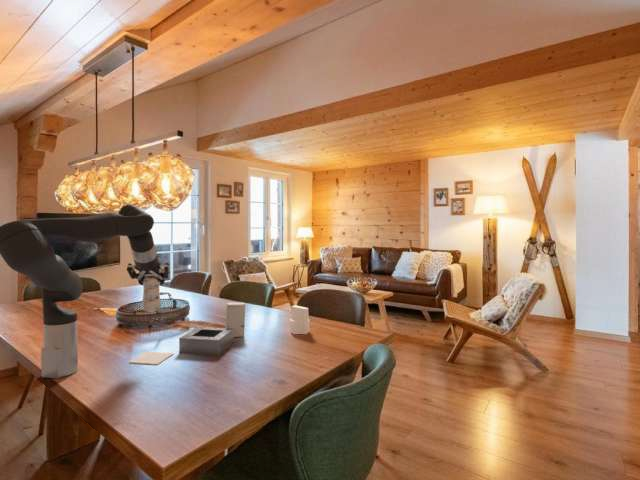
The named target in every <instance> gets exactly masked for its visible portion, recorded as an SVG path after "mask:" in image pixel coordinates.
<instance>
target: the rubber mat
mask: <svg viewBox="0 0 640 480" xmlns="http://www.w3.org/2000/svg"><path fill="white" fill-rule="evenodd" d="M174 355H175V353H174V352H161V351H160V352H159V351H158V352H157V351H155V352H154V351H146V352H144V353H142V354H141V355H139V356H137V357H136V358H134V359H132V360H130V361H128V364H135V365H137V364H138V365H154V366H155V365H156V366H158V365H160V364H161V363H163V362H165V361H166V360H167V359H168V358H171V357H172V356H174Z"/></svg>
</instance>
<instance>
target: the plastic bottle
mask: <svg viewBox="0 0 640 480" xmlns="http://www.w3.org/2000/svg"><path fill="white" fill-rule="evenodd" d="M142 279H143V285H142V287H143V290H142V291H143V293H142V302H141V309H142V311H143V312H146V313H147V312H149V313H154V312H157V311H160V310H161V307H162V301H161V293H160V280H159V278H158V277H156V276H154V275H153V274H147V275H145V274H144V275H143V277H142Z"/></svg>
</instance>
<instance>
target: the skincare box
mask: <svg viewBox="0 0 640 480" xmlns="http://www.w3.org/2000/svg"><path fill="white" fill-rule="evenodd" d="M225 305H226V310H225V314H226V315H225V328H230V329H234V338H237V337H238V338H239V337H240V338H241V337H245V325H246V324H245V317H246V303H245V302H242V301H241V302H239V301H238V302H236V301H235V302H226V304H225Z"/></svg>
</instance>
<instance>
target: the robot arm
mask: <svg viewBox="0 0 640 480" xmlns="http://www.w3.org/2000/svg"><path fill="white" fill-rule="evenodd" d="M154 224H155V220H154V218H153V216H152V215H150V214H149V213H148V212H146V211H145V210H143V209H142V208H140V207H138V206H137V205H135V204H131V203H130V204H126V205H123V206H121V208H120V210H119V211H118V213H116V212H105V213H101V214H95V215H89V216H88V215H87V216H82V217H81V216H80V217H54V218H53V217H52V218H30V219H29V218H28V219H19V220H14V221H10V222H7V223H4V224H2V225H0V256H1V257H2V259H3V261H4V262H5V263H6V265H7V266H8V267H9V268H11V269H12V271H14V272H17V273H19V274H22V275H24V276H26V277H27V279H28V280H29V281H30V282H31V283H33V284H34V285H36V286H37V287H38V288H41V290H40V291H41V301H42V317H43V318H42V319H43V347H42V348H41V349H40V356H41V357H40V359H41V360H40V361H41V362H40V363H41V365H40V366H41V378H45V379H46V378H49V379H51V378H52V379H60V378H63V377H67V376H71V375H73V374H74V373H77V372H78V370H79V356H78V355H79V354H78V353H79V349H78V347H79V346H78V345H79V344H78V313H77V311H75V310H73V309H69V308H68V309H67V308H64V307H62V306H61V305H59V304H58V303H59V302H64V303H65V302H73V301H77V300H78V299H79V298H80V297H81V295H83V293H82V292H83V286H84V285H83V281H82V279H81V277H80V275H79V274H77V273H76V272H75V271H73V270H72V269H71V268H70V267H69V266H68V264H67V263H66V261H65V260H64V259H63V258H62V257H61V256H59V255H57V254H56V253H55V250H54V247H53V246H52V244H51V242H50V241H49V240H48V238H47V237H46V236H61V237H67V238H72V239H77V240H82V241H87V242H88V241H91V242H94V241H101V240H105V239H110V238H114V237H118V236H120V237H127V238H128V241H129V245H130V250H131V255H132V259H133V262H134V264H132V263H128V264H127V266H126V271H127V273H128V275H129V277H130V278H131V280H134V279H136V280H137V281H138V284H139V285H141V286H143V279H142V277H143V275H144V274H145V275H147V274H153V275H154V276H156V277H158V278H159V280H160V283H159V286H163V285H164V284H165V280H166V279H168V278H169V274H170V264H169V262H166V263H165V264H161V262H159V257H158V252H157V251H158V250H157V248H156V247H157V246H156V245H155V243H154V238H153V234H152V232H151V230H152V229H153V227H154ZM136 271H137V272H136Z"/></svg>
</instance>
